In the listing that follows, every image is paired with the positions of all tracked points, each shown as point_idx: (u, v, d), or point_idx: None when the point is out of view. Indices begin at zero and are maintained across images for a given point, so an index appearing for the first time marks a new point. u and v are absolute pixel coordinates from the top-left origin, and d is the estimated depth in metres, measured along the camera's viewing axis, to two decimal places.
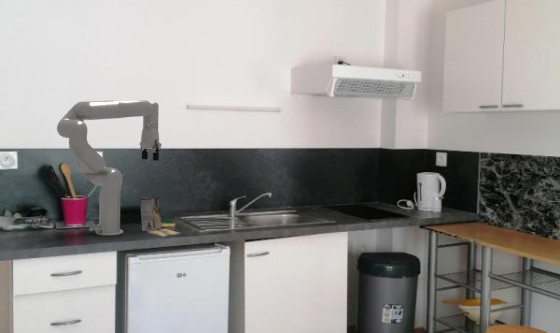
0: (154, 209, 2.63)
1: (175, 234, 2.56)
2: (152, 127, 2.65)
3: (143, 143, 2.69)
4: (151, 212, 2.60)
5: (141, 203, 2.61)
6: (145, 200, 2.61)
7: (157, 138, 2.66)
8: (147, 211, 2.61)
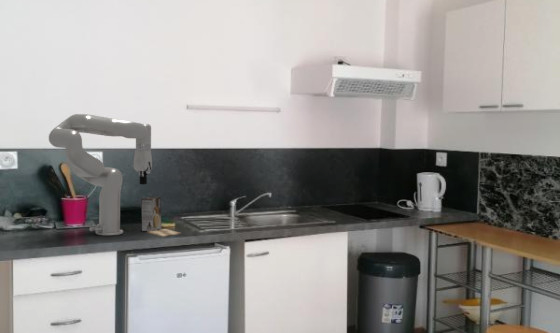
0: (155, 209, 2.63)
1: (175, 234, 2.56)
2: (145, 149, 2.65)
3: (136, 165, 2.68)
4: (152, 213, 2.60)
5: (142, 203, 2.61)
6: (146, 200, 2.61)
7: (150, 160, 2.66)
8: (148, 211, 2.61)
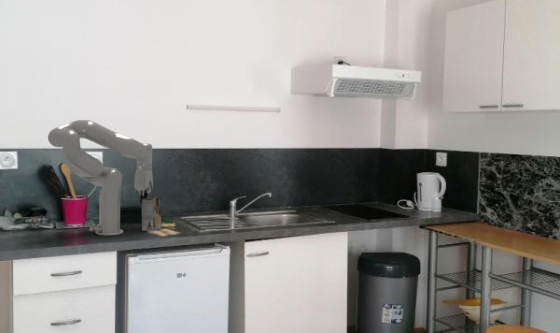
0: (155, 209, 2.63)
1: (175, 234, 2.56)
2: (146, 169, 2.65)
3: (137, 184, 2.68)
4: (152, 213, 2.60)
5: (142, 203, 2.61)
6: (146, 200, 2.61)
7: (151, 180, 2.66)
8: (148, 211, 2.61)
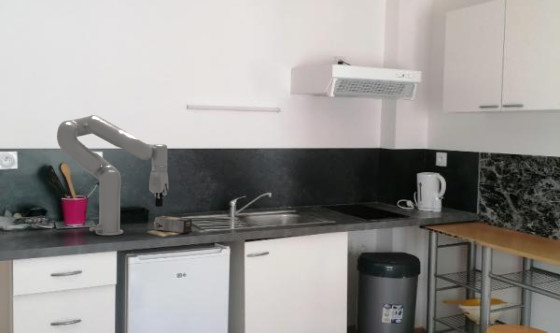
0: None
1: (175, 234, 2.56)
2: (161, 171, 2.57)
3: (152, 187, 2.60)
4: (170, 230, 2.59)
5: (180, 221, 2.58)
6: (183, 226, 2.58)
7: (166, 182, 2.58)
8: (172, 226, 2.59)
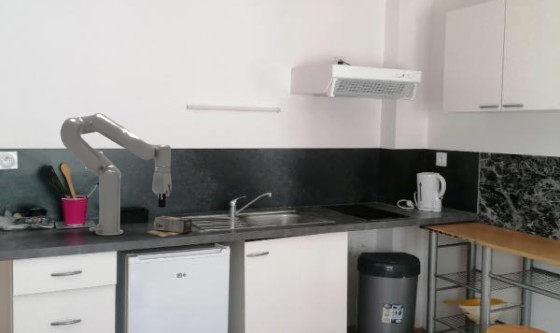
0: None
1: (175, 234, 2.56)
2: (164, 171, 2.55)
3: (155, 187, 2.58)
4: (170, 230, 2.59)
5: (180, 221, 2.58)
6: (183, 226, 2.58)
7: (169, 183, 2.56)
8: (172, 226, 2.59)
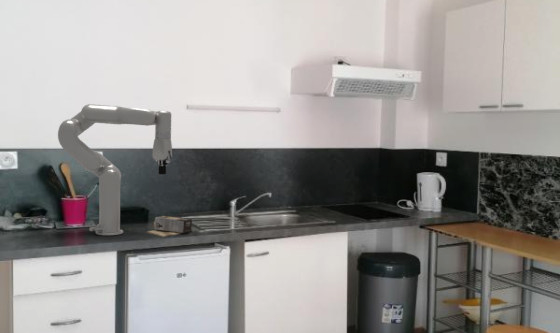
0: None
1: (175, 234, 2.56)
2: (165, 137, 2.54)
3: (155, 154, 2.57)
4: (170, 230, 2.59)
5: (180, 221, 2.58)
6: (183, 226, 2.58)
7: (170, 149, 2.55)
8: (172, 226, 2.59)
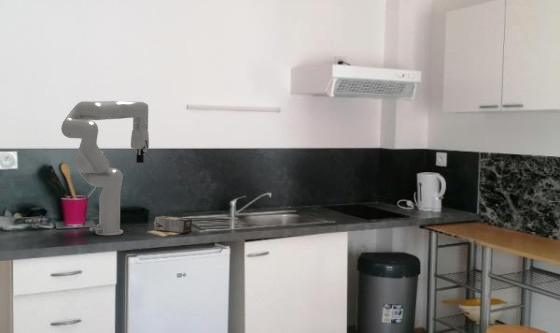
0: None
1: (175, 234, 2.56)
2: (142, 128, 2.70)
3: (133, 143, 2.73)
4: (170, 230, 2.59)
5: (180, 221, 2.58)
6: (183, 226, 2.58)
7: (147, 139, 2.71)
8: (172, 226, 2.59)
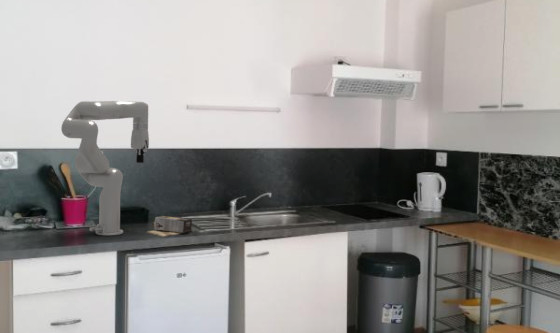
0: None
1: (175, 234, 2.56)
2: (142, 128, 2.70)
3: (133, 143, 2.73)
4: (170, 230, 2.59)
5: (180, 221, 2.58)
6: (183, 226, 2.58)
7: (147, 139, 2.71)
8: (172, 226, 2.59)
